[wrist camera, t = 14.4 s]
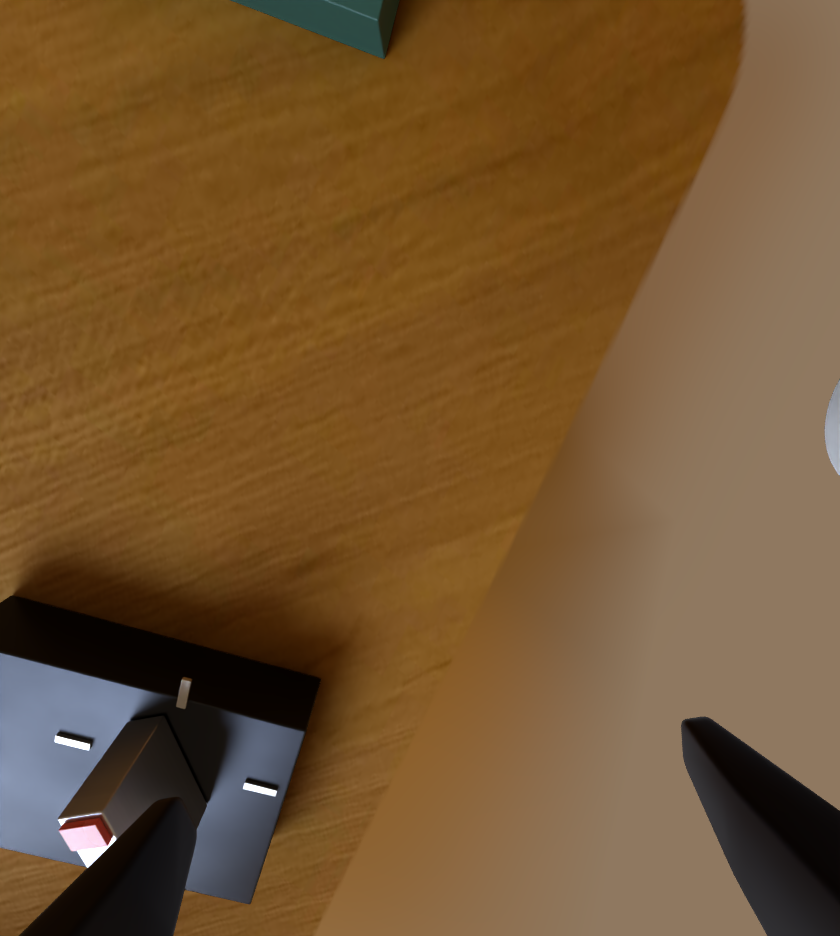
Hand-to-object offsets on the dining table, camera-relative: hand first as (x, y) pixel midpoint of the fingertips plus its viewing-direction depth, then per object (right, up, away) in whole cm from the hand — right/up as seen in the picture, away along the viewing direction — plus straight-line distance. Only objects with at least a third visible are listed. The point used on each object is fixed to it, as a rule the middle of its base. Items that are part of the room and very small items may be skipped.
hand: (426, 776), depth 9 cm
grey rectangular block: (-10, -7, +12) cm, 17 cm away
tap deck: (-13, -7, +15) cm, 21 cm away
